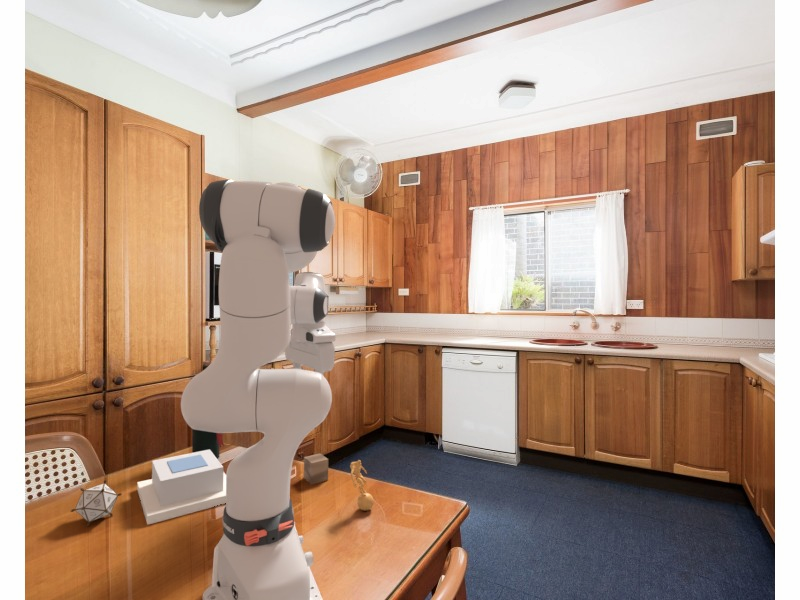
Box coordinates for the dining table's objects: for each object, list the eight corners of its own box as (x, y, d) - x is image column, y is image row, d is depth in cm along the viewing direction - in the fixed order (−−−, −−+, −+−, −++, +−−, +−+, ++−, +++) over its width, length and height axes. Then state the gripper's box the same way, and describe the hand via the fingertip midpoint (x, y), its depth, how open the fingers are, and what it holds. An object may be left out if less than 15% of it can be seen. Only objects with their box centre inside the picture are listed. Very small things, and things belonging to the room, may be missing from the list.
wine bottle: (212, 466, 128) (213, 365, 127) (185, 460, 132) (186, 362, 131) (231, 456, 136) (231, 360, 135) (205, 451, 139) (205, 358, 138)
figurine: (368, 519, 101) (369, 469, 101) (343, 516, 102) (344, 466, 102) (377, 502, 109) (378, 455, 109) (355, 499, 111) (356, 452, 110)
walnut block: (327, 480, 121) (328, 459, 121) (311, 485, 118) (311, 463, 118) (319, 473, 125) (320, 453, 125) (303, 478, 122) (304, 457, 122)
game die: (99, 530, 101) (116, 484, 107) (117, 528, 97) (134, 480, 102) (56, 525, 95) (77, 477, 101) (73, 522, 91) (94, 472, 96)
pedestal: (238, 499, 109) (239, 467, 109) (147, 524, 97) (147, 488, 97) (218, 471, 125) (218, 443, 125) (137, 489, 113) (137, 458, 113)
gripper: (280, 327, 124) (279, 375, 125) (318, 337, 109) (317, 391, 110) (299, 326, 129) (298, 372, 129) (339, 335, 114) (337, 387, 115)
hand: (307, 381), depth 120 cm, fingers open, 8 cm apart
